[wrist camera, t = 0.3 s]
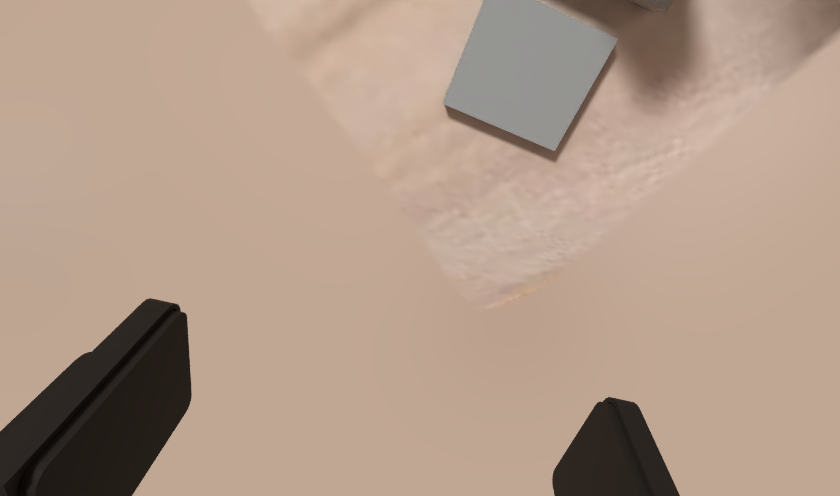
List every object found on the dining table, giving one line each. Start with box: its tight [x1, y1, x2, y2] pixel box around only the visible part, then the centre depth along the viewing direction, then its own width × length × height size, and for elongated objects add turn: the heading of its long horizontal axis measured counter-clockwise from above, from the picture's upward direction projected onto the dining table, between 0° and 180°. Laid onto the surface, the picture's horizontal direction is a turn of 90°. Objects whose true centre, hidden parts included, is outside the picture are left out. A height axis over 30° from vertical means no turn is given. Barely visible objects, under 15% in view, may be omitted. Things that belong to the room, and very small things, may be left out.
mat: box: [443, 0, 618, 151], centre depth 33 cm, size 9×10×1 cm
